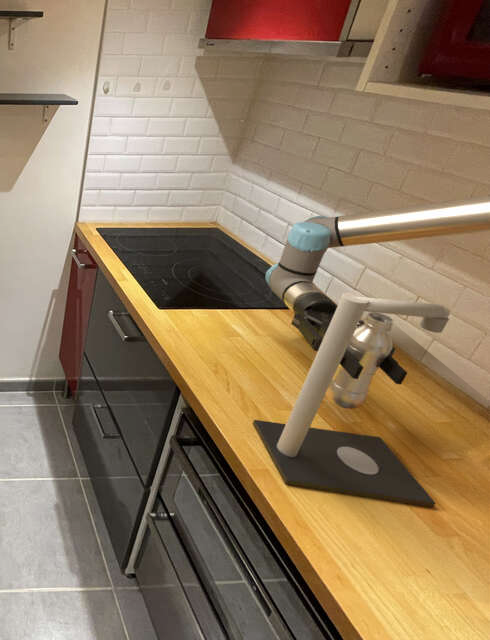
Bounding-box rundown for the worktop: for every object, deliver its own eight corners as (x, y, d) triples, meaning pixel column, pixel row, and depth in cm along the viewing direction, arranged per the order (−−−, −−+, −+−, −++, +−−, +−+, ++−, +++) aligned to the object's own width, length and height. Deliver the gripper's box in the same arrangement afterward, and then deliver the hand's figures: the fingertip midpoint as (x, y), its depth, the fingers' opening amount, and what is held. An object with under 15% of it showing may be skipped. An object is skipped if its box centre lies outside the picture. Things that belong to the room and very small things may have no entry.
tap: (377, 441, 89) (464, 288, 74) (432, 507, 76) (550, 339, 61) (252, 423, 92) (311, 274, 78) (285, 484, 80) (362, 320, 65)
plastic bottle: (312, 394, 91) (349, 311, 82) (333, 386, 93) (371, 304, 85) (347, 417, 85) (390, 331, 77) (369, 408, 87) (413, 323, 79)
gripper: (352, 325, 100) (431, 399, 80) (260, 315, 104) (313, 384, 83) (366, 296, 97) (451, 366, 77) (270, 287, 100) (327, 351, 80)
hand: (379, 375), depth 80 cm, fingers closed on plastic bottle, 6 cm apart
